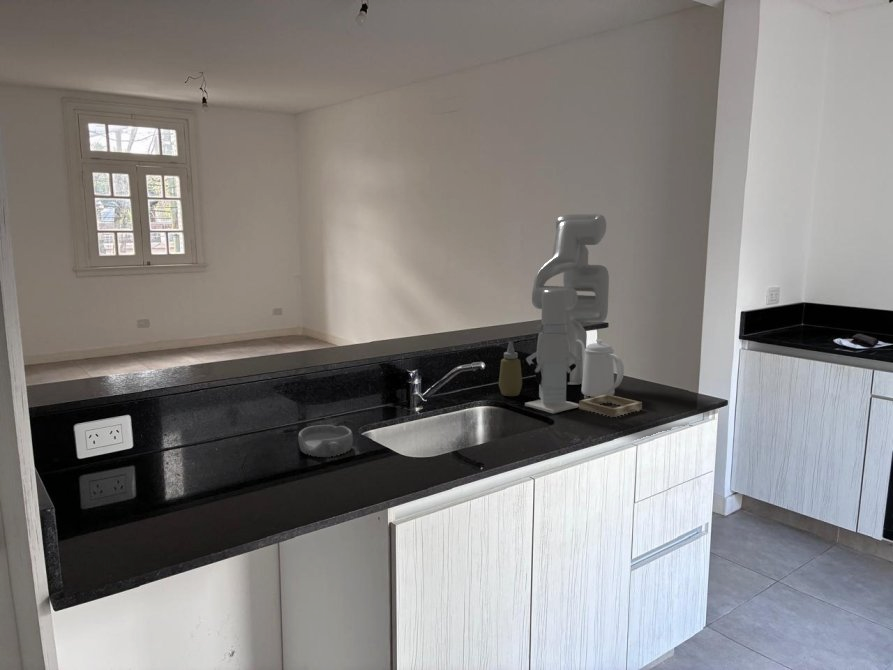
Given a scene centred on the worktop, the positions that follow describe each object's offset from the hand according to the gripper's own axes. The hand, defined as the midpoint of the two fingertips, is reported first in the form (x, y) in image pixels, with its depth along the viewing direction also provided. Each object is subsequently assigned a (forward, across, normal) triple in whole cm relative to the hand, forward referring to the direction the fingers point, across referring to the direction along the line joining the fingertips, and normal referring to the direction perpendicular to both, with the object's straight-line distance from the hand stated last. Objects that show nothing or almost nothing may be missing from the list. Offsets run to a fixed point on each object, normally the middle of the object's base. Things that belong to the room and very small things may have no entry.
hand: (552, 383), depth 209 cm
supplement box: (+5, 0, 0) cm, 5 cm away
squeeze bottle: (+7, -14, +13) cm, 20 cm away
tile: (+7, 0, 0) cm, 7 cm away
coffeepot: (+7, +16, +17) cm, 24 cm away
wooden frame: (+7, +18, -2) cm, 19 cm away
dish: (+7, -59, -48) cm, 76 cm away
